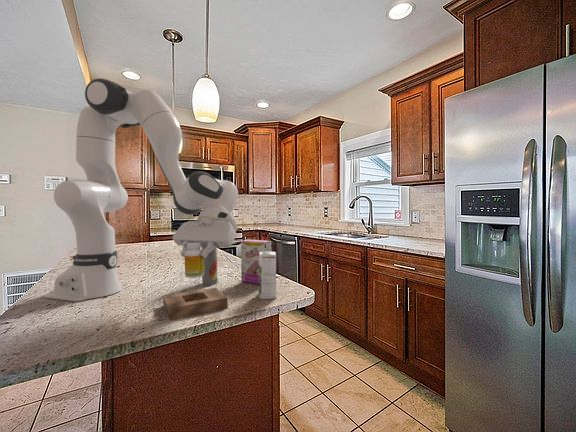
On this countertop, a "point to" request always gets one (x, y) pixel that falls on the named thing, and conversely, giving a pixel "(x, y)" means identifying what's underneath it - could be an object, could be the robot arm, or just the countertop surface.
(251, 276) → the candy bar box
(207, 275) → the lotion bottle
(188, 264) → the supplement bottle
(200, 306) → the socket block
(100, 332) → the countertop surface
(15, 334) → the countertop surface
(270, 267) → the syrup box
